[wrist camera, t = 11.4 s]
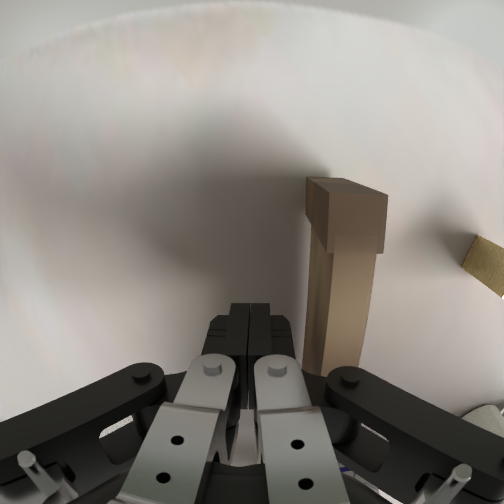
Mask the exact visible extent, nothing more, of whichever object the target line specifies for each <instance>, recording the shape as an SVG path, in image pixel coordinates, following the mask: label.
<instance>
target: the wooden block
mask: <svg viewBox="0 0 504 504" xmlns="http://www.w3.org/2000/svg"><path fill="white" fill-rule="evenodd" d="M387 204H388V195H387V194H384V193H382V192H379V191H377V190H374V189H371V188H369V187H366V186H363V185H360V184H358V183H355V182H352V181H349V180H347V179H344V178H325V177H306V213H305V214H306V216H307V218H308V220H309V221H310V223H311V243H310V264H309V282H308V298H307V312H306V326H305V338H304V349H303V360H302V370H304V371H305V372H308V373H310V374H313V375H318V376H324V377H327V375H328V374H329V372H330V371H332V370H333V369H335V368H338V367H341V366H354V367H358V365H359V360H360V355H361V350H362V345H363V340H364V335H365V329H366V323H367V318H368V311H369V305H370V299H371V292H372V285H373V277H374V269H375V261H376V254H383V249H384V240H385V229H386V218H387Z"/></svg>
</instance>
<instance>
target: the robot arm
mask: <svg viewBox="0 0 504 504" xmlns="http://www.w3.org/2000/svg"><path fill="white" fill-rule="evenodd" d="M248 391H249V409H254V432H255V444H256V456H257V464H255V465H249V466H244V467H234V466H231V463H232V458H233V453H234V448H235V443H236V438H237V433H238V427H239V424H238V421H239V419H240V410H241V409H247V406H248ZM130 415H132V418H133V421H132V422H130V423H128V424H127V425H125V426H123V427H121V428H119V429H117V430H115V431H113V432H112V433H110V434H108V435H106V436H104V437H102V438H99V436H100V433H101V432H102V431H103V430H104V429H106V428H107V427H109V426H111V425H113V424H115V423H117V422H119V421H121V420H123V419H124V418H126V417H128V416H130ZM361 423H363V424H364V425H366V426H368V427H369V428H371V429H373V430H374V431H376V432H378V433H379V434H381V435H383V436H384V437H385V438H386V439H387V440H388V441H389V442H388V441H386V440H384V439H383V438H381V437H379V436H378V435H376V434H374V433H373V432H371V431H369V430H368V429H366V428H364V427H363V426H361ZM337 461H338V462H339V463H341V464H342V465H344V466H345V467H347V468H348V469H350V470H351V471H352V472H354V473H355V474H357V475H358V476H360V477H361V478H363V479H364V480H366V481H367V482H369V483H371V484H372V485H374V486H375V487H377V488H378V489H380V490H381V491H383V492H385V493H386V494H388V495H390V496H391V497H393V498H394V499H396V500H398V501H399V502H401V503H403V504H501V503H502V502H503V501H504V438H503V437H501V436H499V435H496V434H494V433H492V432H490V431H487V430H485V429H483V428H481V427H479V426H476V425H474V424H472V423H470V422H468V421H466V420H463V419H461V418H459V417H457V416H455V415H453V414H451V413H449V412H447V411H444V410H442V409H440V408H438V407H436V406H434V405H432V404H430V403H428V402H426V401H424V400H422V399H420V398H418V397H416V396H414V395H412V394H410V393H408V392H406V391H404V390H402V389H400V388H398V387H396V386H394V385H392V384H390V383H388V382H387V381H385V380H383V379H381V378H379V377H377V376H375V375H373V374H371V373H369V372H367V371H366V370H364V369H361V368H359V367H354V366H341V367H338V368H335V369H333V370H332V371H330V372H329V374H328V375H327V377H324V376H318V375H313V374H310V373H308V372H305V371H304V370H302V369H301V367H300V365H299V363H298V362H297V361H296V359H295V353H294V346H293V340H292V334H291V328H290V322H289V321H288V320H287V319H286V318H285V317H284V316H283V315H270V303H251V313H250V303H231V308H230V313H229V315H217V316H216V317H215V318H214V319H213V320H212V321H211V322H210V326H209V330H208V333H207V337H206V340H205V343H204V347H203V350H202V354H201V356H199V357H197V358H196V359H194V360H193V361H192V362H191V364H190V366H189V368H188V371H185V372H182V373H177V374H170V375H164V372H163V370H162V368H161V367H159V366H158V365H156V364H153V363H145V362H143V363H136V364H133V365H130V366H128V367H126V368H124V369H122V370H120V371H117V372H115V373H113V374H111V375H109V376H107V377H105V378H102V379H100V380H98V381H96V382H94V383H92V384H89V385H87V386H85V387H83V388H81V389H78V390H76V391H74V392H72V393H69V394H67V395H65V396H62V397H60V398H58V399H56V400H53V401H51V402H49V403H46V404H44V405H42V406H39V407H37V408H35V409H32V410H30V411H27V412H25V413H23V414H20V415H18V416H15V417H13V418H10V419H8V420H5V421H3V422H0V504H392V503H391V502H389V501H388V500H386V499H385V498H383V497H382V496H380V495H379V494H378V493H376V492H375V491H373V490H372V489H370V488H369V487H368V486H366V485H365V484H363V483H362V482H360V481H359V480H357V479H355V478H353V477H352V476H349V475H347V474H345V473H342V472H340V469H339V466H338V462H337Z"/></svg>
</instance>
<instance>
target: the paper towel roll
mask: <svg viewBox="0 0 504 504" xmlns="http://www.w3.org/2000/svg"><path fill="white" fill-rule="evenodd" d="M461 419H463V420H466V421H468V422H470V423H472V424H474V425H476V426H479V427H481V428H483V429H485V430H487V431H490V432H492V433H494V434H496V435H499V436H501V437H503V438H504V412H503V413H502V414H501V413H500V411H499V410H498V408H497V407H496V406H495V405H485V406H482V407H479V408H476V409H475V410H473V411H471V412H470V413H468V414H466V415H465V416H463V417H462V418H461ZM501 504H504V501H503V502H502V503H501Z"/></svg>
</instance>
